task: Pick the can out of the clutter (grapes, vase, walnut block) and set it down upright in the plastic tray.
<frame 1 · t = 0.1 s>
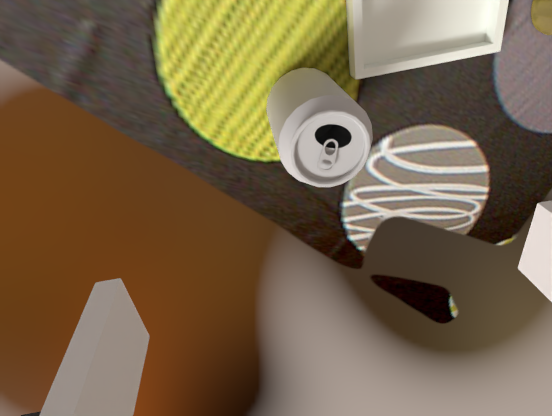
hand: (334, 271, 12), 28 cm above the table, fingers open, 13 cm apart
can: (301, 103, 37), on the table
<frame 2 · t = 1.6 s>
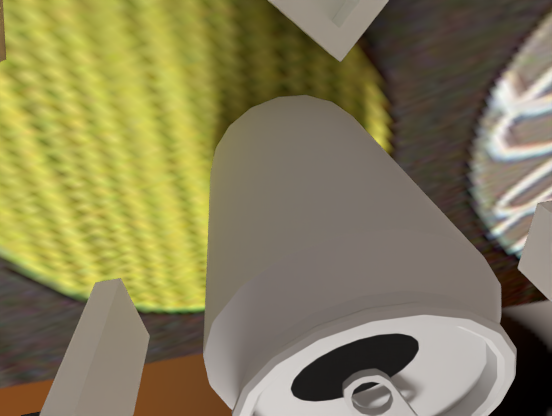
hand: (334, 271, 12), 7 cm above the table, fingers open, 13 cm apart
can: (288, 165, 18), on the table
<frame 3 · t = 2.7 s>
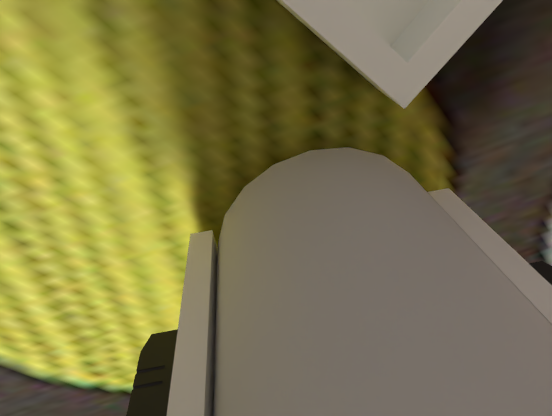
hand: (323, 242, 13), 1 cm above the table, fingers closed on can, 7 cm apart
can: (318, 228, 14), on the table, touching gripper
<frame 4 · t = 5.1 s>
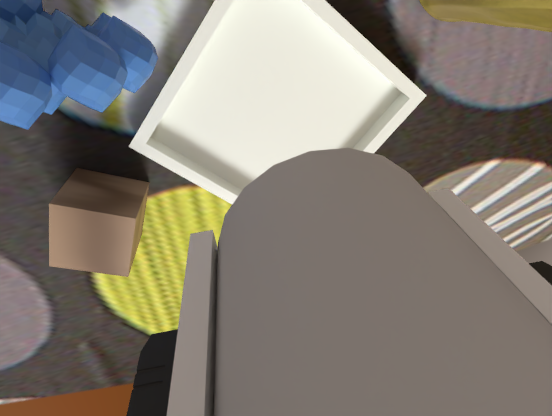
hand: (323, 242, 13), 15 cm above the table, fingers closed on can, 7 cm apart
grapes: (71, 26, 22), on the table
can: (318, 228, 14), point 14 cm above the table, touching gripper
walnut block: (111, 203, 28), on the table
tray: (275, 111, 26), on the table
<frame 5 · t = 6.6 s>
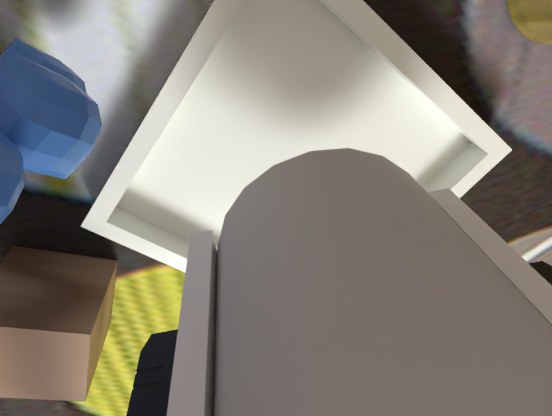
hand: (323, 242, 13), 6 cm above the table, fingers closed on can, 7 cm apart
can: (318, 228, 14), point 5 cm above the table, touching gripper
walnut block: (66, 286, 21), on the table
tray: (293, 167, 18), on the table
when the fingers open (3 cm above the table, at t = 7.6 s): can drops 2 cm, resting on tray.
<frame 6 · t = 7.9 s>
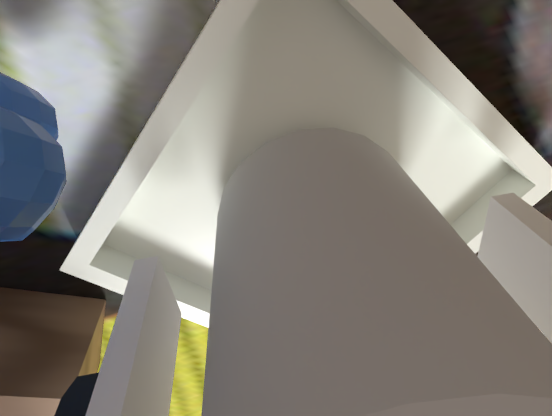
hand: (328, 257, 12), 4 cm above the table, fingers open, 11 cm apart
can: (309, 203, 15), point 1 cm above the table, touching tray
walnut block: (49, 327, 18), on the table
tray: (306, 198, 16), on the table
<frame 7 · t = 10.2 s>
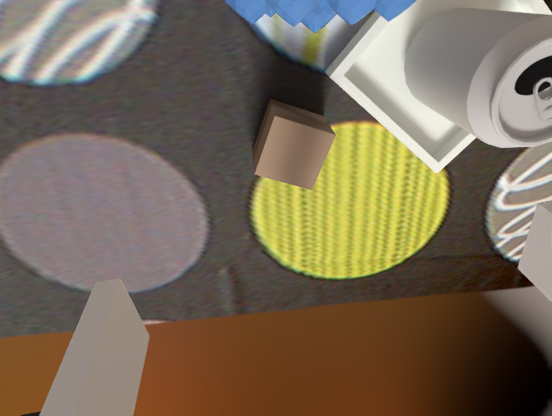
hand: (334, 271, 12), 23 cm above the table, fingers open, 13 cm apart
can: (443, 58, 30), resting on tray
walnut block: (287, 133, 33), on the table
tray: (441, 57, 31), on the table
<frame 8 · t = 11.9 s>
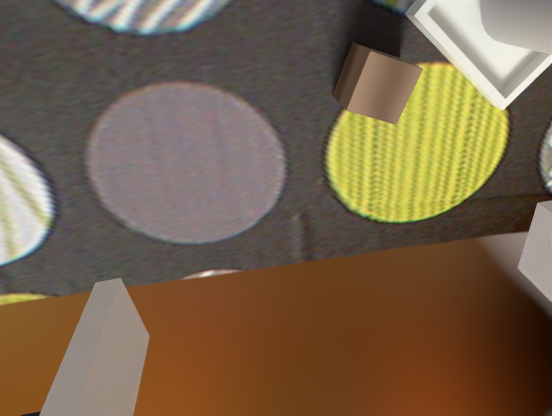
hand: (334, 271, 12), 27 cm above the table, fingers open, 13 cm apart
walnut block: (365, 76, 35), on the table
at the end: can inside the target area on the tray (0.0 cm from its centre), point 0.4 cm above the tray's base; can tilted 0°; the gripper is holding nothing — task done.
